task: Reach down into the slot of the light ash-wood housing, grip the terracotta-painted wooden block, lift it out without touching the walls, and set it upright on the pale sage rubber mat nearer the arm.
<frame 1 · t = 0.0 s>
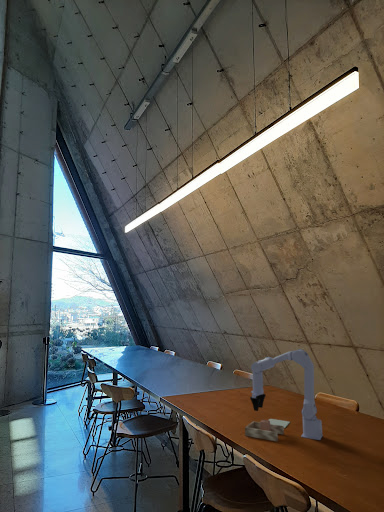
hand: (258, 409, 201), 10 cm above the table, tool pointing down, fingers open, 7 cm apart
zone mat: (277, 423, 207), on the table
terracotta block: (265, 428, 188), in the slot housing
slot housing: (265, 435, 188), on the table
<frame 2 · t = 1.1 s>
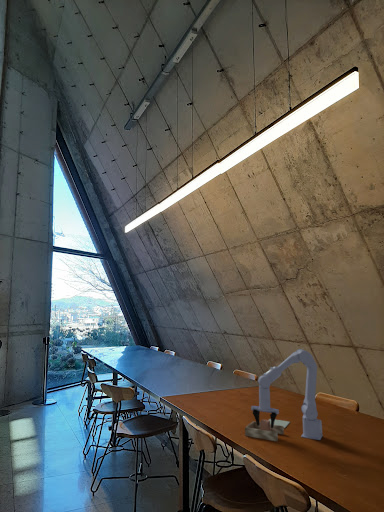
hand: (265, 426, 189), 4 cm above the table, tool pointing down, fingers open, 7 cm apart
nothing on the table moved.
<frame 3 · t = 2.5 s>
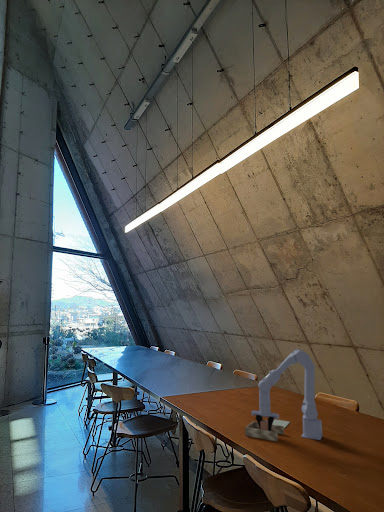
hand: (265, 431, 188), 2 cm above the table, tool pointing down, fingers closed on terracotta block, 4 cm apart
terracotta block: (265, 428, 188), in the slot housing, touching gripper
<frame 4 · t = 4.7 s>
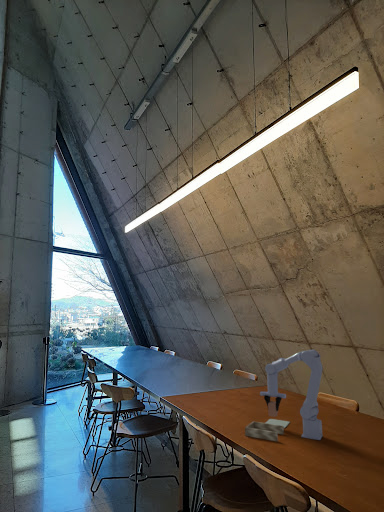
hand: (273, 410, 203), 9 cm above the table, tool pointing down, fingers closed on terracotta block, 4 cm apart
terracotta block: (272, 408, 202), point 10 cm above the table, touching gripper
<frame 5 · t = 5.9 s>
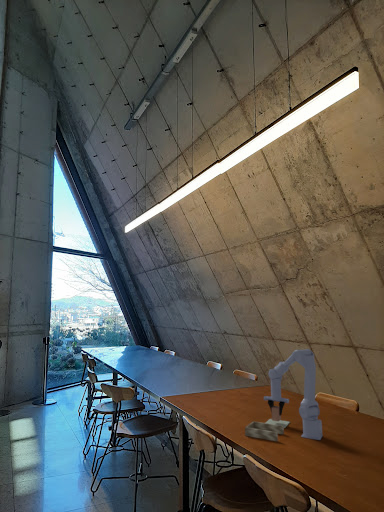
hand: (276, 414, 208), 5 cm above the table, tool pointing down, fingers closed on terracotta block, 4 cm apart
terracotta block: (276, 413, 207), point 6 cm above the table, touching gripper
when the fingers open (4 cm above the table, at t = 7.0 s): terracotta block stays where it is, resting on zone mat.
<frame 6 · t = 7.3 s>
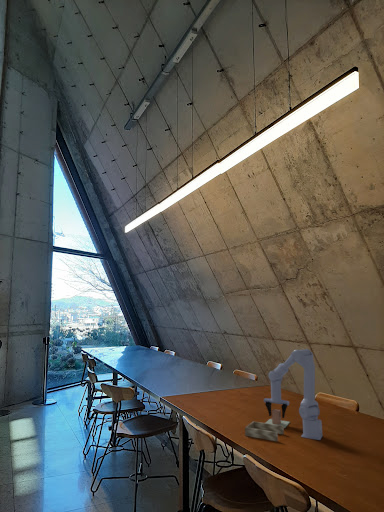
hand: (276, 416, 208), 4 cm above the table, tool pointing down, fingers open, 7 cm apart
terracotta block: (276, 416, 207), on the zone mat
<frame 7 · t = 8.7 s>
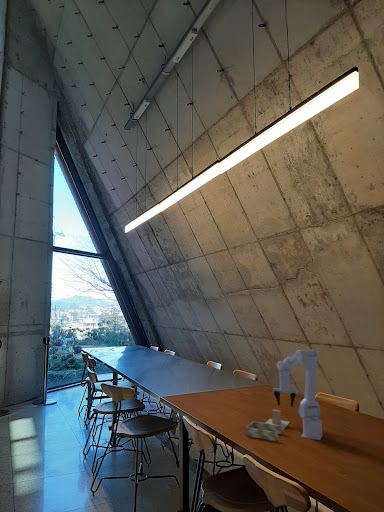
hand: (285, 405, 211), 9 cm above the table, tool pointing down, fingers open, 7 cm apart
nothing on the table moved.
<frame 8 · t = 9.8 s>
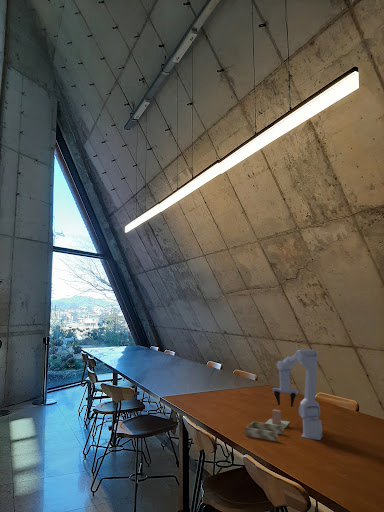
hand: (285, 405, 211), 9 cm above the table, tool pointing down, fingers open, 7 cm apart
nothing on the table moved.
at the end: terracotta block inside the target area on the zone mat (0.7 cm from its centre), point 4.0 cm above the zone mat's base; terracotta block tilted 0°; terracotta block touching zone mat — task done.
